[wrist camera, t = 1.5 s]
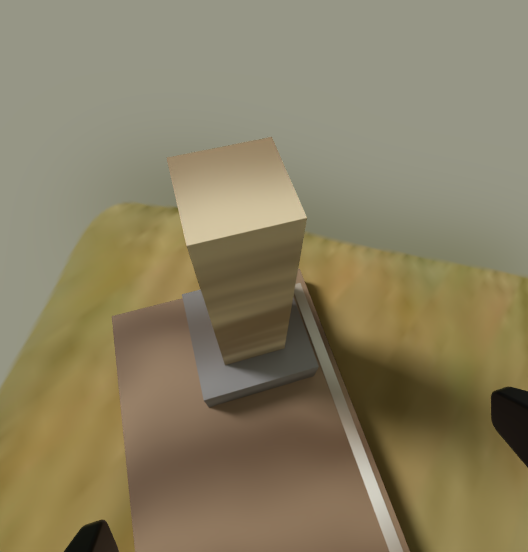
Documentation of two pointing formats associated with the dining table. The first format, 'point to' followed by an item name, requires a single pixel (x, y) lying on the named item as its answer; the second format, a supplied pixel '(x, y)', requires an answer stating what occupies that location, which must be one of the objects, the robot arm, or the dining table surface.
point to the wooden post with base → (242, 269)
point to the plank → (244, 451)
